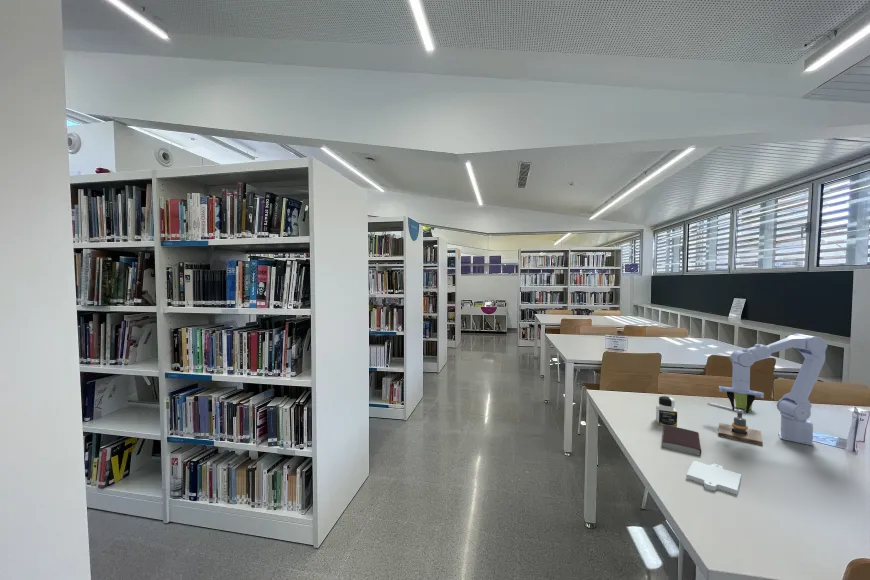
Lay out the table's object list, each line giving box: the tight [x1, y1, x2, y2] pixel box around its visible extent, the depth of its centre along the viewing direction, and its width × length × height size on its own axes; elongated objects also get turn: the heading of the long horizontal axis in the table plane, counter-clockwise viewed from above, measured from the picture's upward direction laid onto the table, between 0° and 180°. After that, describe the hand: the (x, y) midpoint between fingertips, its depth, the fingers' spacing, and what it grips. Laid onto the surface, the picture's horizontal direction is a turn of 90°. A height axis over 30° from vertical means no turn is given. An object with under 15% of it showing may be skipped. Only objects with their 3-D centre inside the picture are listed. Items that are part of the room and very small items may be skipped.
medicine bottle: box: [655, 395, 678, 427], centre depth 166 cm, size 7×7×12 cm
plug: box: [731, 416, 749, 435], centre depth 154 cm, size 5×5×7 cm
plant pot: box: [734, 393, 753, 411], centre depth 188 cm, size 9×9×9 cm
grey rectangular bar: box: [706, 402, 744, 415], centre depth 163 cm, size 13×2×1 cm, turn 30°
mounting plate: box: [685, 460, 742, 496], centre depth 119 cm, size 18×13×2 cm
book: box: [662, 425, 702, 456], centre depth 146 cm, size 12×19×3 cm, turn 146°
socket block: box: [717, 413, 764, 447], centre depth 154 cm, size 14×14×8 cm
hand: (740, 411), depth 153 cm, fingers open, 4 cm apart
